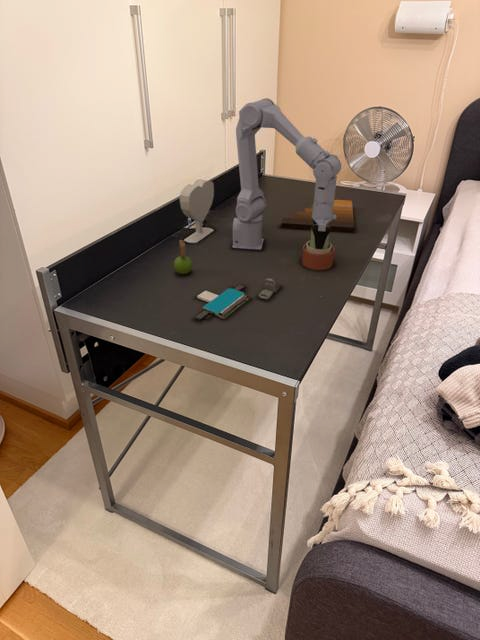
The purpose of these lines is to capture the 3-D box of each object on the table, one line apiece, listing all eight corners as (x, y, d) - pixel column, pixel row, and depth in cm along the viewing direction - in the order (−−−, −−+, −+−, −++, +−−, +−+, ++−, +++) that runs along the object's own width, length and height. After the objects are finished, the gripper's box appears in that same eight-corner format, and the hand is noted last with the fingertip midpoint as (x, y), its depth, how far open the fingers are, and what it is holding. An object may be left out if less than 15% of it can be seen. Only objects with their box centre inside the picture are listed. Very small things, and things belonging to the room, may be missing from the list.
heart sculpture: (204, 225, 169) (202, 175, 159) (216, 228, 167) (215, 177, 157) (180, 241, 158) (176, 189, 148) (193, 244, 156) (190, 191, 146)
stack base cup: (301, 269, 142) (302, 254, 140) (302, 254, 150) (303, 240, 147) (333, 271, 141) (335, 256, 138) (332, 256, 149) (334, 242, 146)
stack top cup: (304, 267, 143) (306, 249, 140) (305, 256, 149) (306, 238, 146) (329, 269, 142) (332, 250, 139) (329, 258, 148) (331, 239, 145)
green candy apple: (176, 280, 136) (173, 242, 130) (173, 270, 142) (170, 232, 135) (195, 277, 138) (192, 239, 131) (191, 267, 143) (188, 230, 136)
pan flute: (281, 228, 168) (353, 233, 164) (282, 219, 166) (354, 224, 162) (286, 203, 188) (350, 207, 185) (287, 195, 186) (351, 199, 183)
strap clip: (267, 301, 127) (268, 287, 125) (257, 298, 128) (258, 284, 126) (281, 287, 133) (281, 274, 131) (271, 284, 135) (272, 271, 132)
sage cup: (309, 252, 141) (311, 230, 137) (309, 244, 146) (311, 223, 142) (327, 253, 141) (330, 231, 137) (327, 245, 145) (330, 224, 141)
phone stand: (222, 280, 136) (222, 275, 135) (257, 292, 131) (257, 287, 130) (177, 311, 122) (177, 306, 122) (214, 326, 117) (214, 321, 116)
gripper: (338, 210, 128) (333, 255, 136) (337, 192, 140) (332, 235, 148) (312, 209, 129) (308, 254, 137) (313, 191, 141) (309, 233, 149)
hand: (319, 244), depth 142 cm, fingers closed on sage cup, 5 cm apart
